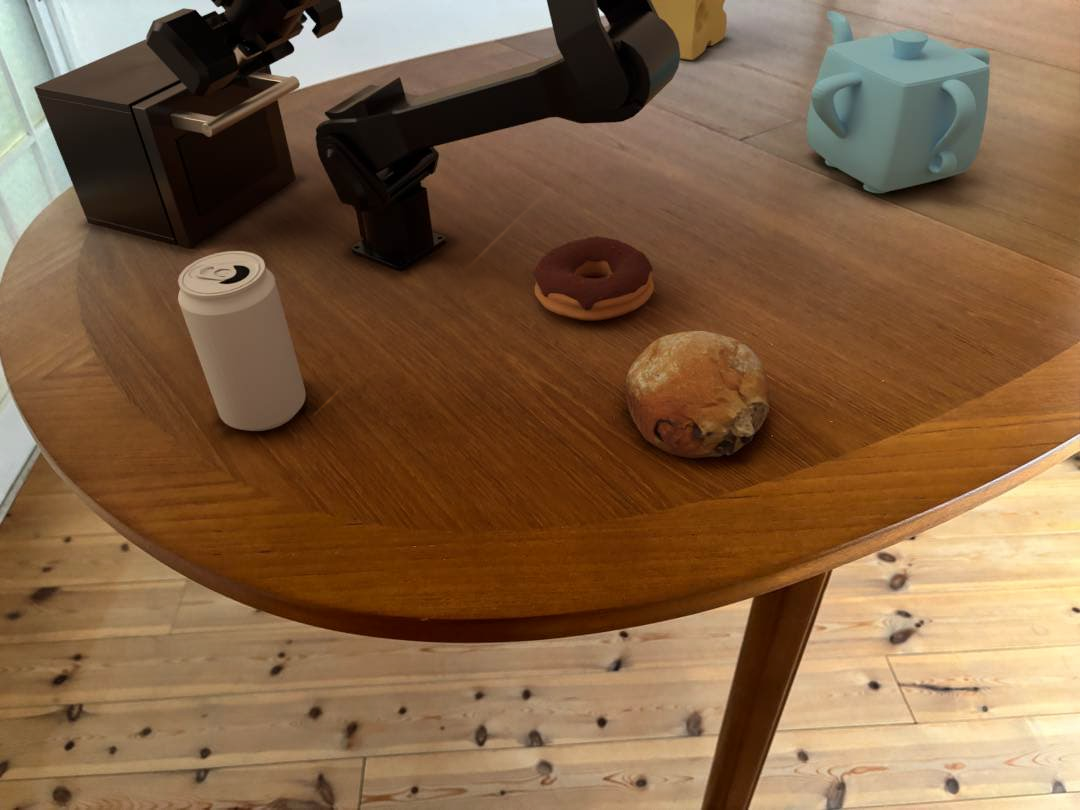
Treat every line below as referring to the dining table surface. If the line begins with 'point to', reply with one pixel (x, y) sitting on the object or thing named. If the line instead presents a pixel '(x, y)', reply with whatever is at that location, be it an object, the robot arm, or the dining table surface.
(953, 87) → the teapot
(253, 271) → the beverage can
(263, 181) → the oven door
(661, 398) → the bread roll
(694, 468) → the dining table surface
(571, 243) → the donut
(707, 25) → the cheese
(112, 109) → the oven
